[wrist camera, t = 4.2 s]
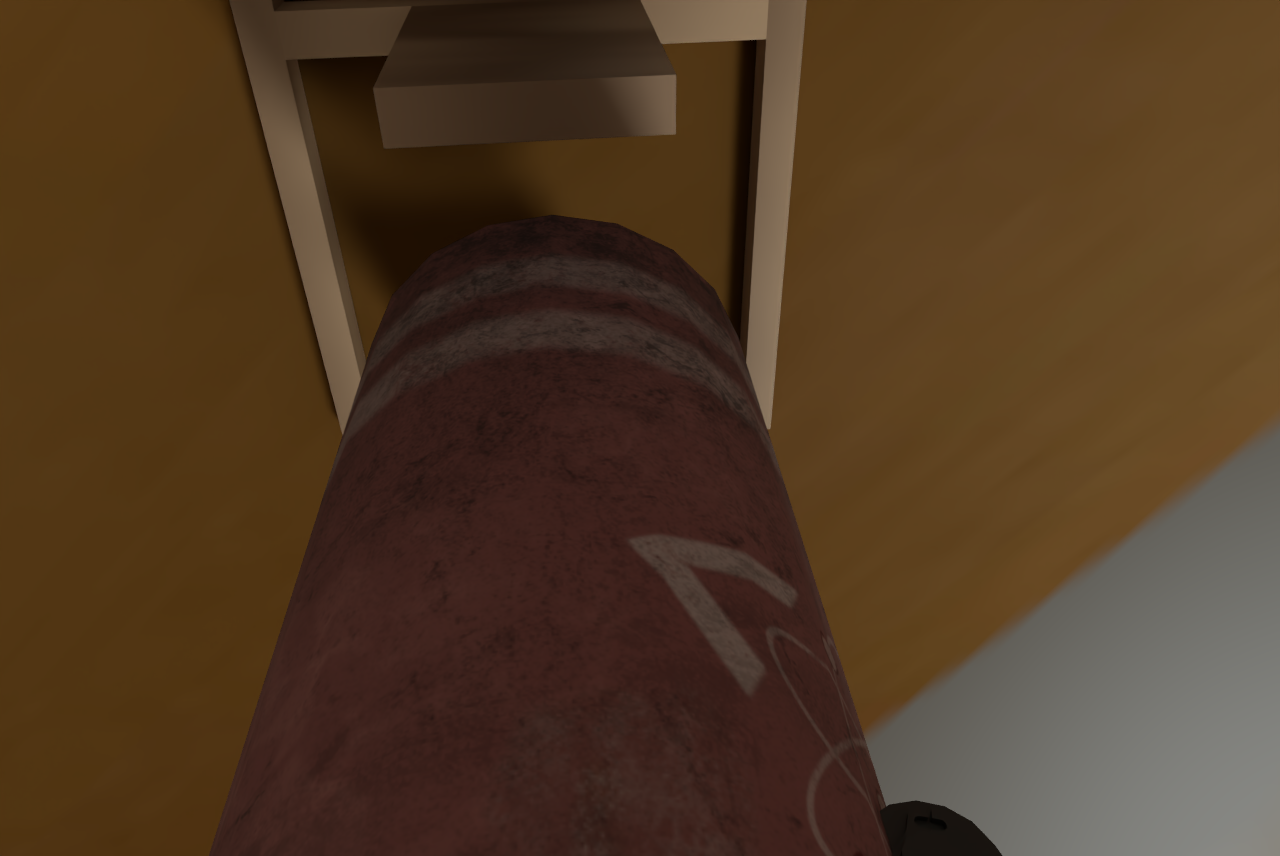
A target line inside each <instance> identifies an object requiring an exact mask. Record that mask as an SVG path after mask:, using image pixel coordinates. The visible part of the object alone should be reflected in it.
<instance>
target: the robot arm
mask: <svg viewBox="0 0 1280 856" xmlns="http://www.w3.org/2000/svg"><path fill="white" fill-rule="evenodd" d="M880 814H881V818H882V821H883V824H884V827H885V831H886V834H887V837H888V840H889V844H890V847H891V850H892V856H1002V855H1001V853H1000V852H999V850H998V849H997V848H996V846H995V845H994V844H993V843H992V842H991V841H990V840H989V839H988V838H987V837H986V836H985V834H984V833H983V832H982V831H981V830H980V829H979V828H978V827H977V826H976V825H975V824H974V823H973V822H972V821H970V820H968V819H966V818H965V817H963V816H961V815H959V814H957V813H956V812H954V811H952V810H950V809H948V808H947V807H945V806H940V805H935V804H930V803H925V802H920V801H910V802H904V803H897V804H891V805H888V806H887V807H885V808H883V809H882V810H880Z"/></svg>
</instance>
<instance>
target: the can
mask: <svg viewBox="0 0 1280 856" xmlns="http://www.w3.org/2000/svg"><path fill="white" fill-rule="evenodd" d="M885 807H886V805H885V802H884V798H883V795H882V792H881V789H880V786H879V783H878V779H877V776H876V773H875V770H874V767H873V764H872V761H871V758H870V754H869V751H868V748H867V744H866V741H865V738H864V735H863V732H862V729H861V725H860V722H859V719H858V716H857V713H856V710H855V706H854V703H853V700H852V697H851V694H850V691H849V687H848V684H847V681H846V678H845V675H844V671H843V668H842V665H841V662H840V659H839V656H838V652H837V649H836V646H835V643H834V640H833V637H832V633H831V630H830V627H829V624H828V621H827V618H826V614H825V611H824V608H823V605H822V602H821V598H820V595H819V592H818V589H817V586H816V583H815V579H814V576H813V573H812V570H811V567H810V564H809V560H808V557H807V554H806V551H805V548H804V545H803V541H802V538H801V535H800V532H799V529H798V525H797V522H796V519H795V516H794V513H793V510H792V506H791V503H790V500H789V497H788V494H787V491H786V487H785V484H784V481H783V478H782V475H781V472H780V468H779V465H778V462H777V459H776V456H775V452H774V449H773V446H772V443H771V440H770V437H769V433H768V430H767V427H766V424H765V421H764V418H763V414H762V411H761V408H760V405H759V402H758V399H757V395H756V392H755V389H754V386H753V383H752V379H751V376H750V373H749V370H748V367H747V364H746V360H745V357H744V354H743V351H742V348H741V345H740V341H739V338H738V335H737V333H736V331H735V329H734V327H733V325H732V323H731V321H730V319H729V317H728V315H727V313H726V311H725V309H724V307H723V305H722V303H721V301H720V299H719V297H718V295H717V293H716V291H715V289H714V288H713V287H712V286H711V285H710V284H709V283H707V282H706V281H705V280H704V279H703V278H702V277H701V276H700V275H699V274H698V273H697V272H696V271H695V270H694V269H693V268H692V267H691V266H690V265H689V264H687V263H686V262H685V261H684V260H683V259H682V258H681V257H680V256H679V255H678V254H677V253H676V252H675V251H674V250H672V249H670V248H668V247H666V246H664V245H661V244H659V243H657V242H655V241H653V240H651V239H649V238H647V237H644V236H642V235H640V234H638V233H636V232H634V231H632V230H629V229H627V228H625V227H623V226H621V225H619V224H616V223H608V222H601V221H594V220H586V219H579V218H571V217H564V216H557V215H548V216H542V217H536V218H530V219H524V220H518V221H512V222H505V223H499V224H493V225H487V226H485V227H484V228H482V229H480V230H478V231H476V232H474V233H472V234H470V235H468V236H466V237H464V238H462V239H460V240H458V241H456V242H454V243H452V244H450V245H448V246H446V247H444V248H442V249H440V250H438V251H436V252H434V253H432V254H431V255H430V256H429V257H428V258H427V259H426V260H425V261H424V263H423V264H422V265H421V266H420V267H419V268H418V269H417V270H416V271H415V272H414V273H413V274H412V275H411V276H410V277H409V278H408V279H407V280H406V281H405V282H404V283H403V284H402V286H401V287H400V288H399V289H398V290H397V291H396V292H395V293H394V294H393V295H392V297H391V299H390V302H389V304H388V306H387V309H386V311H385V314H384V316H383V318H382V321H381V323H380V326H379V328H378V330H377V333H376V335H375V338H374V340H373V342H372V345H371V348H370V351H369V354H368V358H367V361H366V364H365V367H364V370H363V373H362V376H361V380H360V383H359V386H358V389H357V392H356V395H355V398H354V402H353V405H352V408H351V411H350V414H349V417H348V420H347V424H346V427H345V430H344V433H343V436H342V439H341V442H340V446H339V449H338V452H337V455H336V458H335V461H334V464H333V468H332V471H331V474H330V477H329V480H328V483H327V487H326V490H325V493H324V496H323V499H322V502H321V505H320V509H319V512H318V515H317V518H316V521H315V524H314V527H313V531H312V534H311V537H310V540H309V543H308V546H307V549H306V553H305V556H304V559H303V562H302V565H301V568H300V571H299V575H298V578H297V581H296V584H295V587H294V590H293V593H292V597H291V600H290V603H289V606H288V609H287V612H286V615H285V619H284V622H283V625H282V628H281V631H280V634H279V637H278V641H277V644H276V647H275V650H274V653H273V656H272V659H271V663H270V666H269V669H268V672H267V675H266V678H265V681H264V685H263V688H262V691H261V694H260V697H259V700H258V703H257V707H256V710H255V713H254V716H253V719H252V722H251V725H250V729H249V732H248V735H247V738H246V741H245V744H244V747H243V751H242V754H241V757H240V760H239V763H238V766H237V769H236V773H235V776H234V779H233V782H232V785H231V788H230V791H229V795H228V798H227V801H226V804H225V807H224V810H223V813H222V817H221V820H220V823H219V826H218V829H217V832H216V835H215V839H214V842H213V845H212V848H211V851H210V854H209V856H892V850H891V847H890V844H889V840H888V837H887V834H886V831H885V827H884V824H883V821H882V818H881V814H880V810H882V809H883V808H885Z"/></svg>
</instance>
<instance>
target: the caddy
mask: <svg viewBox="0 0 1280 856" xmlns="http://www.w3.org/2000/svg"><path fill="white" fill-rule="evenodd" d="M229 1H230V5H231V9H232V13H233V16H234V20H235V24H236V28H237V32H238V36H239V39H240V43H241V47H242V51H243V55H244V59H245V62H246V66H247V70H248V74H249V78H250V82H251V85H252V89H253V93H254V97H255V101H256V105H257V108H258V112H259V116H260V120H261V124H262V128H263V131H264V135H265V139H266V143H267V147H268V151H269V155H270V158H271V162H272V166H273V170H274V174H275V178H276V181H277V185H278V189H279V193H280V197H281V201H282V204H283V208H284V212H285V216H286V220H287V224H288V227H289V231H290V235H291V239H292V243H293V247H294V250H295V254H296V258H297V262H298V266H299V270H300V273H301V277H302V281H303V285H304V289H305V293H306V296H307V300H308V304H309V308H310V312H311V316H312V319H313V323H314V327H315V331H316V335H317V339H318V342H319V346H320V350H321V354H322V358H323V362H324V365H325V369H326V373H327V377H328V381H329V385H330V388H331V392H332V396H333V400H334V404H335V408H336V411H337V415H338V419H339V423H340V427H341V431H342V434H343V433H344V430H345V427H346V424H347V420H348V417H349V414H350V411H351V408H352V405H353V402H354V398H355V395H356V392H357V389H358V386H359V383H360V380H361V376H362V373H363V370H364V367H365V364H366V359H365V354H364V350H363V346H362V341H361V337H360V332H359V328H358V324H357V319H356V315H355V311H354V306H353V302H352V297H351V293H350V289H349V284H348V280H347V275H346V271H345V267H344V262H343V258H342V254H341V249H340V245H339V240H338V236H337V232H336V227H335V223H334V219H333V214H332V210H331V205H330V201H329V197H328V192H327V188H326V183H325V179H324V175H323V170H322V166H321V162H320V157H319V153H318V148H317V144H316V140H315V135H314V131H313V126H312V122H311V118H310V113H309V109H308V105H307V100H306V96H305V91H304V87H303V83H302V78H301V74H300V70H299V65H298V61H297V59H317V58H341V57H364V56H388V57H387V59H386V62H385V64H384V66H383V68H382V70H381V72H380V74H379V76H378V78H377V81H376V83H375V85H374V87H373V92H374V97H375V103H376V108H377V114H378V119H379V124H380V130H381V135H382V141H383V146H384V149H388V148H408V147H428V146H448V145H469V144H489V143H509V142H529V141H549V140H569V139H589V138H609V137H629V136H649V135H670V134H676V73H675V71H674V69H673V67H672V65H671V63H670V61H669V59H668V57H667V55H666V52H665V50H664V48H663V46H662V44H669V43H692V42H716V41H739V40H757V46H756V64H755V82H754V100H753V118H752V135H751V153H750V171H749V189H748V207H747V225H746V243H745V260H744V278H743V296H742V314H741V332H740V345H741V348H742V351H743V354H744V357H745V360H746V364H747V367H748V370H749V373H750V376H751V379H752V383H753V386H754V389H755V392H756V395H757V399H758V402H759V405H760V408H761V411H762V414H763V418H764V421H765V424H766V427H767V429H770V428H771V416H772V404H773V392H774V380H775V368H776V356H777V345H778V333H779V321H780V309H781V297H782V285H783V273H784V262H785V250H786V238H787V226H788V214H789V202H790V191H791V179H792V167H793V155H794V143H795V131H796V119H797V108H798V96H799V84H800V72H801V60H802V48H803V36H804V25H805V13H806V1H807V0H318V1H292V2H284V0H229Z"/></svg>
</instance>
